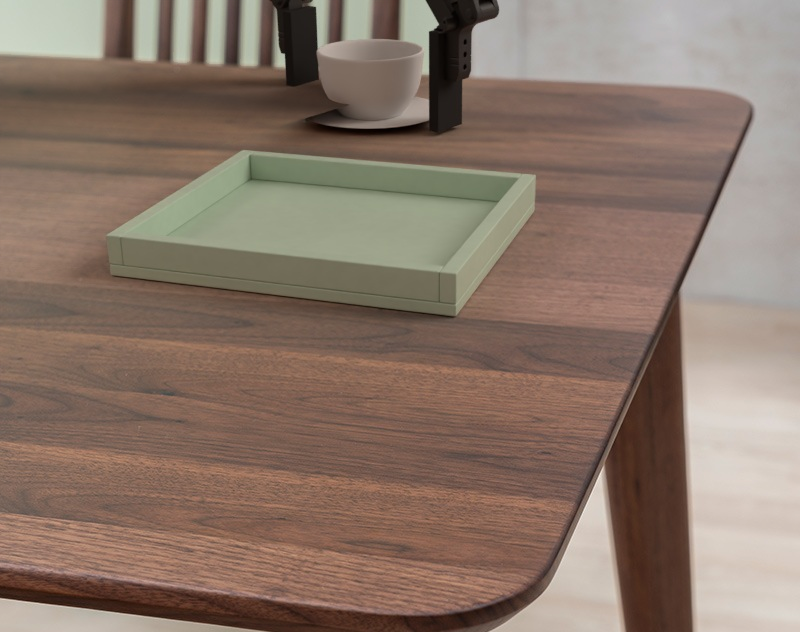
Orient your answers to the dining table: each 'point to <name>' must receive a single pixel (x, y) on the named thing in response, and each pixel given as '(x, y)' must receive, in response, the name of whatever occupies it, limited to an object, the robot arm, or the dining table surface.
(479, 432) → the dining table surface
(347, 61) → the teacup
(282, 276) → the tray
